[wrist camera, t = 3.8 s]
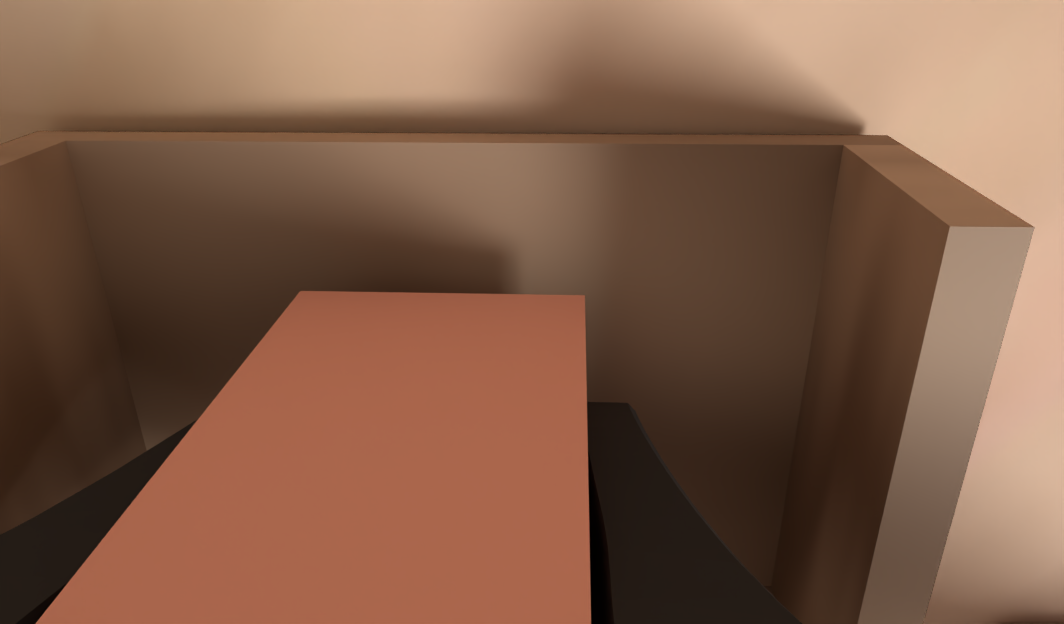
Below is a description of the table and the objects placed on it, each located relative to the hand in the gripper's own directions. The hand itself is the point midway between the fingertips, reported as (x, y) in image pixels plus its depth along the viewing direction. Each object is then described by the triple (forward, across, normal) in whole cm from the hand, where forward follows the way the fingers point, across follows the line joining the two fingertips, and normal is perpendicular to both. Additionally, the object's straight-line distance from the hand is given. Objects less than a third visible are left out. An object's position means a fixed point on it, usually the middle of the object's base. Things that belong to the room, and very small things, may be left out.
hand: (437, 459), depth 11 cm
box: (+3, 0, 0) cm, 3 cm away
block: (+1, 0, 0) cm, 1 cm away
